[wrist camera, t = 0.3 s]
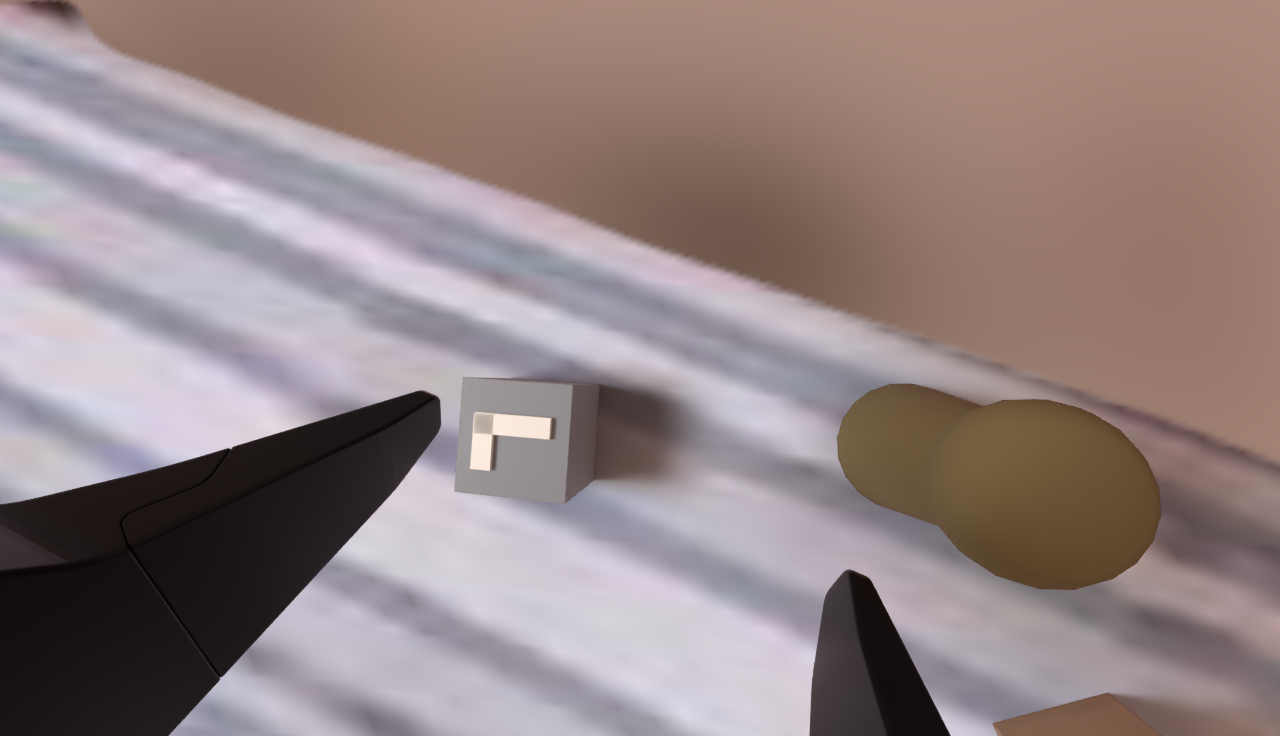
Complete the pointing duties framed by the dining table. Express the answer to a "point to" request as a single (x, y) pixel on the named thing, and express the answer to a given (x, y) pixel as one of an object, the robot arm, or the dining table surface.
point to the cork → (1007, 481)
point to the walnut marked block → (1078, 720)
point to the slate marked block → (526, 438)
